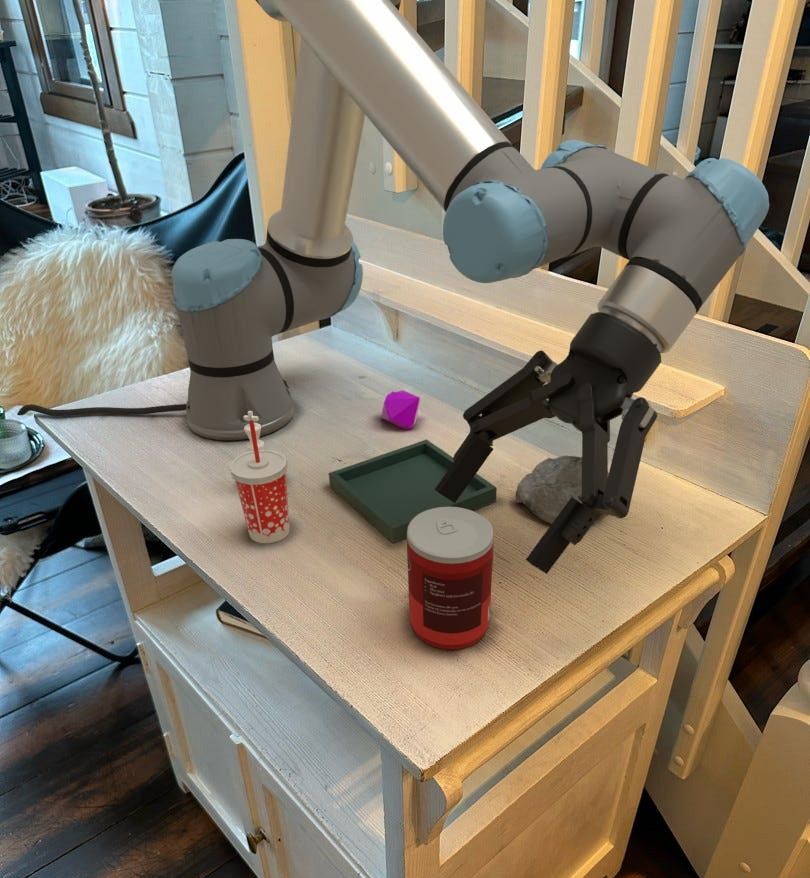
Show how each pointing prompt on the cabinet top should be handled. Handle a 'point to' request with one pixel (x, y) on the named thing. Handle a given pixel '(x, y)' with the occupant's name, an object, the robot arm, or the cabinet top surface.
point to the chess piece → (257, 430)
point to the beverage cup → (262, 492)
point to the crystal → (401, 409)
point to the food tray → (404, 487)
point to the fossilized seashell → (551, 486)
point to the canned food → (449, 576)
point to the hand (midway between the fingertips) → (487, 529)
